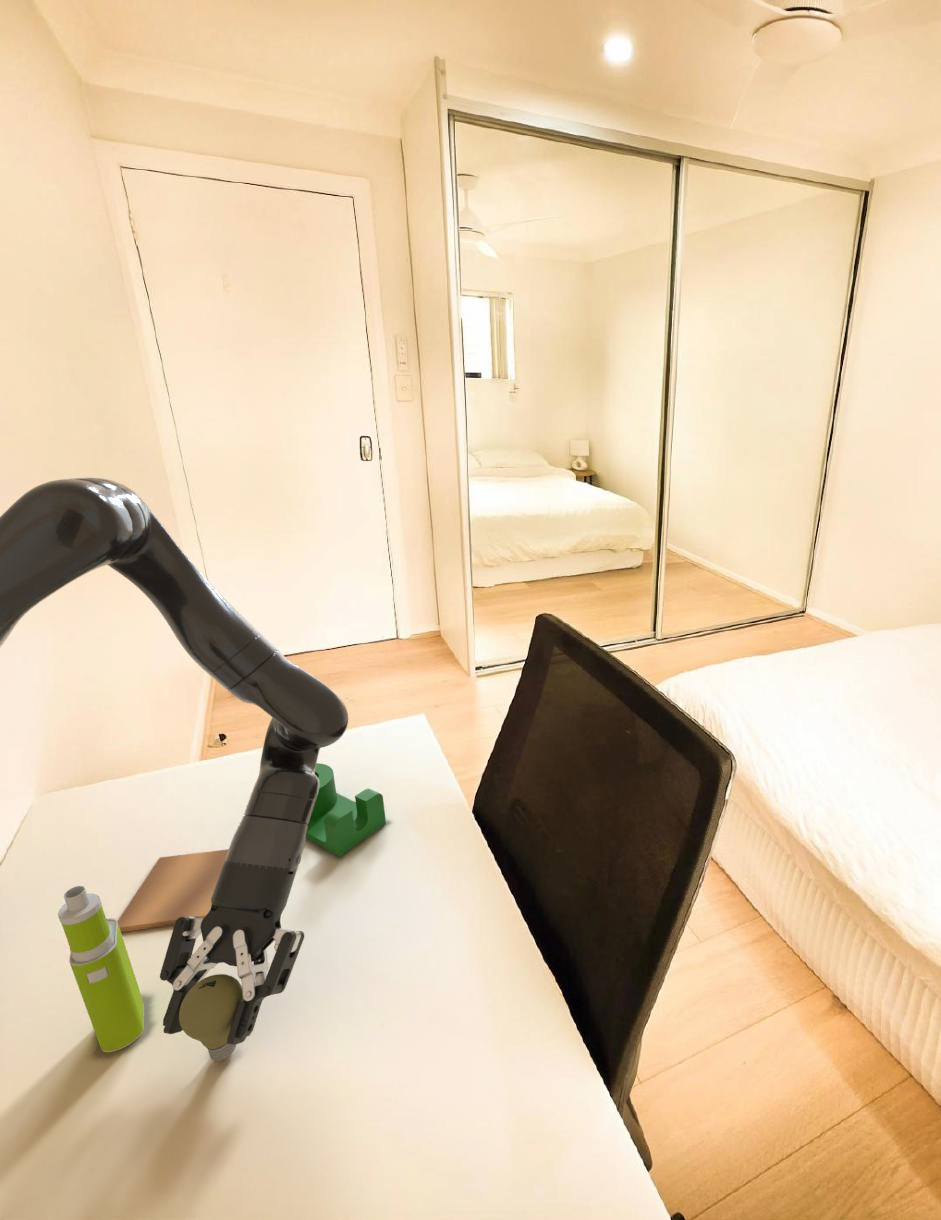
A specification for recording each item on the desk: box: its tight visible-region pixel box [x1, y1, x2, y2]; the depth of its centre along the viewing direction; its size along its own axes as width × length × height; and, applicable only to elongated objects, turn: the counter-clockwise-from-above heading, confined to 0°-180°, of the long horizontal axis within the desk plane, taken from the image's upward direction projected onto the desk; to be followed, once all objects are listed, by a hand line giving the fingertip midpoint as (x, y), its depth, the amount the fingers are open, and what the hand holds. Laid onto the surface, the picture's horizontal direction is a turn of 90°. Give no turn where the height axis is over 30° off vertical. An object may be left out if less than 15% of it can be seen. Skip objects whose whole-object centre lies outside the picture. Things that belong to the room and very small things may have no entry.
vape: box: [57, 885, 145, 1053], centre depth 63 cm, size 4×6×20 cm, turn 36°
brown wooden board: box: [117, 848, 229, 933], centre depth 85 cm, size 16×13×1 cm
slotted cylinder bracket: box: [306, 762, 387, 857], centre depth 99 cm, size 18×9×6 cm, turn 61°
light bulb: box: [179, 973, 244, 1062], centre depth 63 cm, size 6×6×10 cm
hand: (204, 1037), depth 61 cm, fingers open, 6 cm apart
